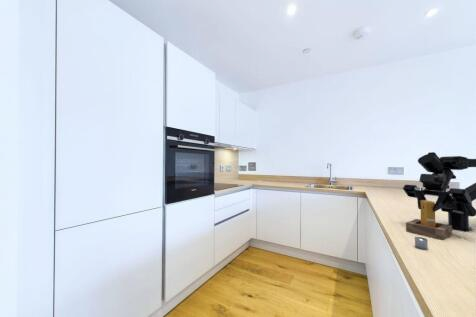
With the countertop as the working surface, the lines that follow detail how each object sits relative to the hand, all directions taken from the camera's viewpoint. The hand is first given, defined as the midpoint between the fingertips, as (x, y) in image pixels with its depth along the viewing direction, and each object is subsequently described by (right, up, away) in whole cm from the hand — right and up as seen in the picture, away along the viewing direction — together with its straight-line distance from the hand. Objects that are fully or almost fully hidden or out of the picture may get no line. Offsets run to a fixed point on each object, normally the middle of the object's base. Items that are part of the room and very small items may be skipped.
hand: (426, 209), depth 75 cm
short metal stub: (-14, -9, -13) cm, 21 cm away
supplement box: (+1, -7, 0) cm, 7 cm away
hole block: (+1, -9, 0) cm, 9 cm away
